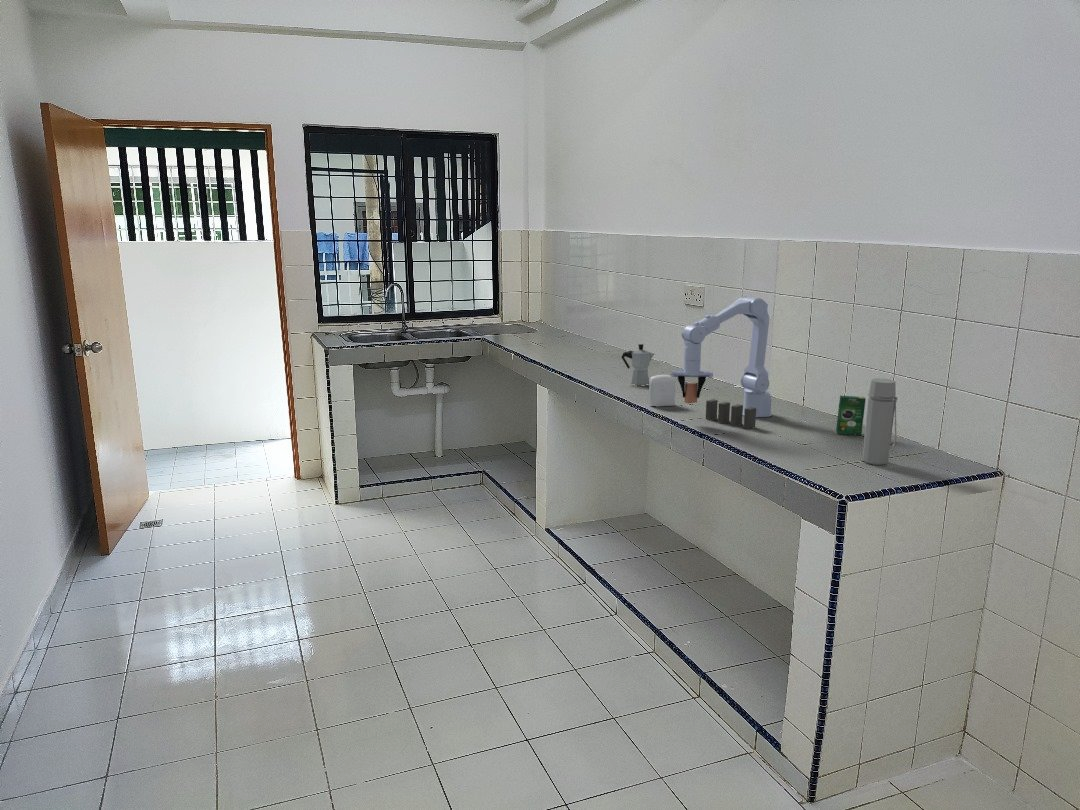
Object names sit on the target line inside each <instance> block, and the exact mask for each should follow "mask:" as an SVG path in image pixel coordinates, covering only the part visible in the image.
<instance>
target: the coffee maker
mask: <svg viewBox="0 0 1080 810" xmlns="http://www.w3.org/2000/svg"><path fill="white" fill-rule="evenodd" d="M637 345H638V349H637V350H628V351H623V353H622V355H621V359H622V361H623V363H624V364H625V365H626V367H627V369H630V368H631V367H630V365H629V363H628V362H627V360H626V358H629V359H631V364H632V367H633V371H632V376H631V382H630V385H631V384H635V385H646V384H649V382H650V378H649V371H648V368H649V367H650V362H651V361H652V359H653V357H654V355H655V353H654V352H651V351H648V350H645V349H644V344H643V343H641V344H640V343H639V344H637Z"/></svg>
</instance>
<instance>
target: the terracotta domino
mask: <svg viewBox="0 0 1080 810" xmlns="http://www.w3.org/2000/svg"><path fill="white" fill-rule="evenodd" d="M697 391H698V382H695V381H693V382H685V397H684V403H685V404H693V403H694V404H695V403H698V398H697Z"/></svg>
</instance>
